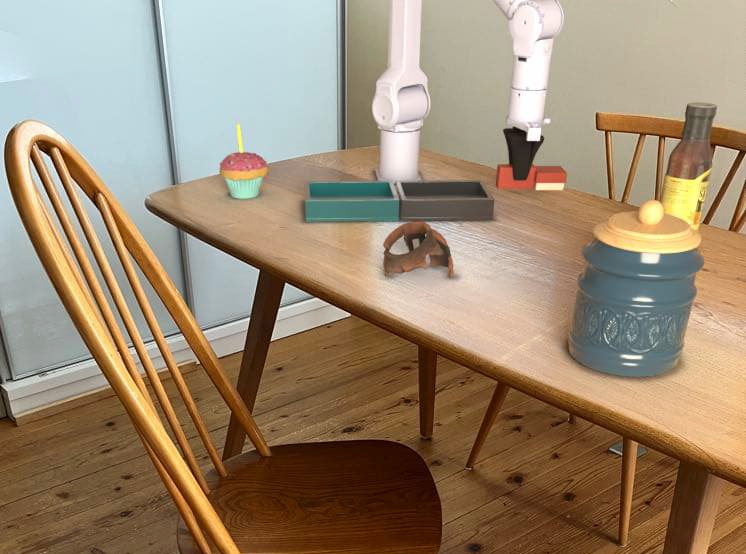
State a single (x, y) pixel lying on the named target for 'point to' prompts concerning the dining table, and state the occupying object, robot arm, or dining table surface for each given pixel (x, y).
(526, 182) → the brush
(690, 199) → the sauce bottle
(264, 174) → the cupcake
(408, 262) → the brown openwork arch
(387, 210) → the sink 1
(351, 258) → the dining table surface
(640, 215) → the canister
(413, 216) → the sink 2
